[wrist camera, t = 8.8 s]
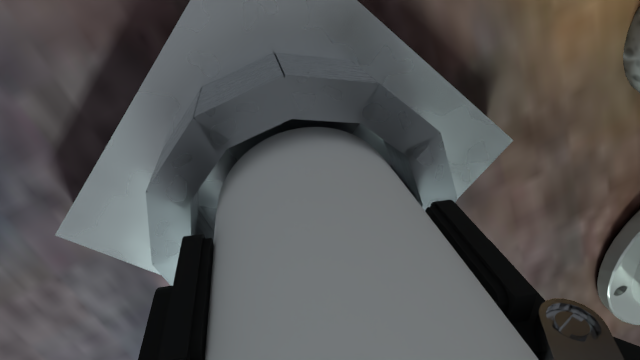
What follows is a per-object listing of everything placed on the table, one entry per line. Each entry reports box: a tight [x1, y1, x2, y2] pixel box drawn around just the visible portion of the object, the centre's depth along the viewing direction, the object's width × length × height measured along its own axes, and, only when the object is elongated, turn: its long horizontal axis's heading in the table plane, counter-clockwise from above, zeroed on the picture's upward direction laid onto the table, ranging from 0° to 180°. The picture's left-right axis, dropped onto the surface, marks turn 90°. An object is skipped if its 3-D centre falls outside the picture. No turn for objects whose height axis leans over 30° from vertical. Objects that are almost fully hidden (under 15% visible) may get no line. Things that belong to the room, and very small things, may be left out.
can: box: [205, 127, 539, 360], centre depth 9 cm, size 6×6×12 cm
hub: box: [55, 0, 513, 286], centre depth 15 cm, size 13×13×5 cm
